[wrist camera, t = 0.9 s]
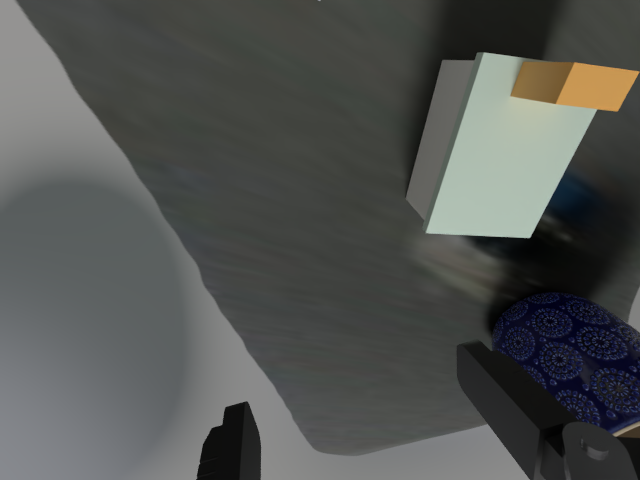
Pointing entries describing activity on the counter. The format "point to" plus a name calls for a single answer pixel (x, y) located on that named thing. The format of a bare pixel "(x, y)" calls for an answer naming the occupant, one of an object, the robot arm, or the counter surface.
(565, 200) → the counter surface
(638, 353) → the planter
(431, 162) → the tub
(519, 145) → the lid
